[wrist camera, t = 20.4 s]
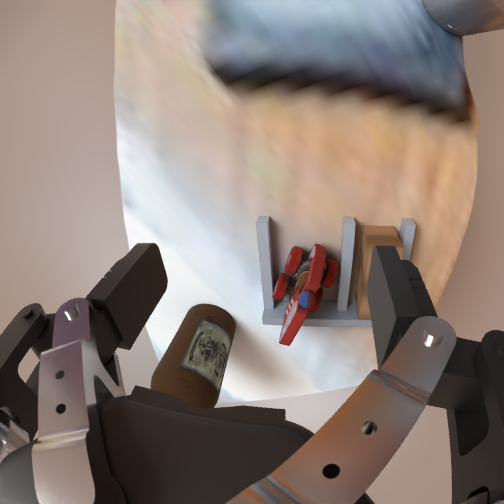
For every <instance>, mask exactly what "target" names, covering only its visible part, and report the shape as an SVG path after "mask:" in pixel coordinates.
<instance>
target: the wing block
mask: <svg viewBox="0 0 504 504" xmlns="http://www.w3.org/2000/svg"><path fill="white" fill-rule="evenodd" d="M374 245H394V246H395V247H396V249H397V252H398V254H399V257H400V259H401V260H402V256H403V251H404V247H403V245H402V243H401V241H400V239H399V237H398V234H397V232H396V230H395V228H394V226H363V230H362V240H361V249H360V258H359V266H358V274H357V282H356V289H355V300H356V307H357V315H358V320H371V315H370V309H369V304H368V297H367V285H368V277H369V271H370V264H371V256H372V249H373V246H374Z"/></svg>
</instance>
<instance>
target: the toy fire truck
mask: <svg viewBox="0 0 504 504" xmlns="http://www.w3.org/2000/svg"><path fill="white" fill-rule="evenodd" d="M302 256H303V249H302V248H299V247H296V246H294V247H293V248H292V250H291V252H290V254H289V257H288V259H287V262H286V265H285V271H284V272H285V273H286V274H289V275H292V276H294V275H295V274H296V273H297V277H298V281H297V283H296V285H295V286H294V288H292V287H289V286H288V283H289V281H290V277H289V275H286V274H283V273H281V274H280V275H279V276H278V279H277V281H276V284H275V287H274V290H273V294H272V298H273V299H274V300H278V301H282V300H283V298H284V296H285V293H289V294H291V295H290V297H289V300H288V302H287V305H286V310H285V316H284V321H283V327H282V331H281V334H280V340H279V343H280V344H283V345H287V346H289V345H290V344H291V343H292V341H293V339H294V338H295V336H296V334H297V332H298V331H299V329H300V327H301V325H302V324H303V322H304V320H305V319H306V317H307V314H308V311H310V312H315V311H316V310H317V308H318V307H319V305H320V302H321V299H322V295H323V289H322V287H321V286H323V287H325V288H329V287H331V286H332V284H333V283H334V281H335V278H336V276H337V272H338V262H337V261H335V260H332V259H327V260H326V261H325V247H324V246H321V245H319V244H315V245H314V246H313V248H312V250H311V252H310V255H309V257H308V258H307V260H306V261H304V260H302Z"/></svg>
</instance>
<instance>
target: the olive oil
mask: <svg viewBox="0 0 504 504" xmlns="http://www.w3.org/2000/svg"><path fill="white" fill-rule="evenodd" d="M235 329H236V326H235V322H234V320H233V318H232V317H231V316H230V315H229V314H228V313H227V312H226V311H225V310H223V309H221V308H219V307H217V306H214V305H210V304H199V305H195V306H193V307H192V308H191V309H190V310H189V311H188V313H187V314H186V316H185V318H184V320H183V322H182V324H181V326H180V327H179V329H178V331H177V333H176V335H175V336H174V338H173V340H172V342H171V343H170V345H169V347H168V349H167V350H166V352H165V354H164V356H163V357H162V359H161V361H160V363H159V364H158V366H157V368H156V370H155V371H154V373H153V376H152V380H151V389H152V390H156V391H161V392H165V393H168V394H170V395H172V396H174V397H176V398H178V399H180V400H183V401H185V402H187V403H189V404H191V405H193V406H196V407H198V408H204V409H206V408H214V406H215V405H216V403H217V401H218V398H219V394H220V390H221V385H222V381H223V377H224V372H225V368H226V364H227V360H228V356H229V352H230V348H231V345H232V341H233V337H234V334H235Z"/></svg>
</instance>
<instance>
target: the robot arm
mask: <svg viewBox="0 0 504 504" xmlns="http://www.w3.org/2000/svg"><path fill="white" fill-rule="evenodd" d="M422 3H423V5H424V7H425V9H426V11H427V12H428V14H429V15H430V16H431V18H432V19H433V20H434V21H435V22H436V23H437V24H438V25H440V26H441V27H442V28H444V29H445V30H447V31H449V32H451V33H454V34H456V35H462V36H464V35H473V34H477V33H482V32H488V31H493V30H499V29H504V0H422ZM167 283H168V280H167V274H166V271H165V268H164V264H163V261H162V257H161V254H160V250H159V247H158V246H157V244H155V243H138V244H136V245H135V246H134V247H133V248H132V249H131V250H130V252H129V253H128V254H127V255H126V256H125V257H123V258H122V259H120V260H119V261H118V262H116V263H115V265H114V266H113V267H112V268H111V269H110V271H108V272H107V273H106V274H105V276H104V278H102V279H101V280H100V281H99V282H98V284H97V285H96V286H95V287H94V288H93V289H92V291H91V292H90V293H89V294H88V295H87V297H86V298H74V299H71V300H69V301H67V302H65V303H64V304H63V305H62V306H60V308H59V309H58V310H57V312H56V313H54V314H46V313H45V311H44V310H43V308H42V306H41V305H40V304H38V303H34V304H31V305H28V306H26V307H24V308H23V309H22V310H21V311H20V312H19V313H18V314H17V315H16V316H15V318H14V319H13V320H12V321H11V323H10V324H9V325H8V326H7V328H6V329H5V330H4V331H3V333H2V334H1V335H0V408H1V409H0V504H375V503H374V502H373V501H372V500H371V499H370V497H369V496H368V495H367V494H366V493H365V491H366V490H367V489H368V488H369V486H370V485H371V484H372V483H373V482H374V480H375V479H376V478H377V477H378V475H379V474H380V473H381V471H382V470H383V469H384V468H385V466H386V465H387V464H388V462H389V461H390V460H391V458H392V457H393V456H394V454H395V453H396V452H397V450H398V449H399V447H400V446H401V444H402V443H403V441H404V440H405V438H406V437H407V435H408V434H409V432H410V431H411V429H412V428H413V426H414V425H415V423H416V421H417V420H418V418H419V417H420V415H421V413H422V412H423V410H424V408H425V406H426V405H430V406H435V407H440V408H446V410H447V418H448V427H449V435H450V436H449V437H450V449H451V466H452V504H504V332H503V331H499V330H492V331H489V332H488V333H486V334H485V335H484V337H483V339H482V341H481V342H477V341H472V340H467V339H463V338H459V337H457V336H456V333H455V331H454V329H453V327H452V326H451V325H450V324H449V323H448V322H446V321H445V320H443V319H441V318H438V316H437V314H436V311H435V308H434V306H433V303H432V301H431V298H430V296H429V294H428V291H427V289H426V288H425V287H426V286H425V284H424V282H423V280H422V277H421V275H420V273H419V270H418V268H417V267H415V266H414V265H413V264H412V263H411V262H410V261H409V260H401V259H400V257H399V254H398V252H397V249H396V247H395V246H394V245H374V246H373V249H372V256H371V264H370V271H369V277H368V285H367V297H368V304H369V309H370V315H371V321H372V327H373V334H374V341H375V348H376V355H377V363H378V371H377V370H373V371H372V372H371V373H370V374H369V375H368V376H367V377H366V378H365V379H364V381H363V382H362V383H361V384H360V385H359V387H358V388H357V389H356V390H355V391H354V393H353V394H352V395H351V396H350V397H349V398H348V399H347V401H346V402H345V403H344V404H343V405H342V406H341V407H340V408H339V409H338V410H337V412H336V413H335V414H334V415H333V416H332V417H331V418H330V419H329V420H328V421H327V422H326V423H325V424H324V425H323V426H322V427H321V428H320V429H319V430H318V431H317V432H316V433H315V434H314V433H313V432H311V431H310V430H308V429H306V428H304V427H303V426H300V425H298V424H296V423H293V422H290V421H287V420H286V419H285V409H273V408H262V407H252V406H234V407H221V408H206V409H204V408H198V407H196V406H193V405H191V404H189V403H187V402H185V401H183V400H180V399H178V398H176V397H174V396H172V395H170V394H168V393H165V392H161V391H156V390H152V389H148V388H144V387H140V386H135V387H134V389H133V391H132V393H131V395H126V393H125V390H124V385H123V381H122V376H121V370H120V366H119V360H118V356H117V354H116V352H115V351H116V349H117V347H118V348H123V349H127V350H130V349H131V347H132V345H133V344H134V342H135V340H136V338H137V337H138V335H139V334H140V332H141V330H142V328H143V327H144V325H145V324H146V322H147V320H148V319H149V317H150V315H151V314H152V312H153V311H154V309H155V307H156V306H157V304H158V302H159V301H160V299H161V298H162V296H163V294H164V293H165V291H166V289H167ZM30 347H31V348H32V350H33V351H34V353H35V354H36V355H37V357H38V358H39V360H40V361H39V363H38V364H37V366H36V367H35V369H34V371H33V372H32V374H31V375H30V377H29V378H28V380H27V382H26V383H24V381H22V379H21V378H20V376H19V374H18V366H19V363H20V362H21V360H22V359H23V357H24V356H25V354H26V353H27V352H28V350H29V349H30ZM37 430H38V438H37V439H35V440H33V438H34V436H35V434H36V432H37ZM32 440H33V441H32Z"/></svg>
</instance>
